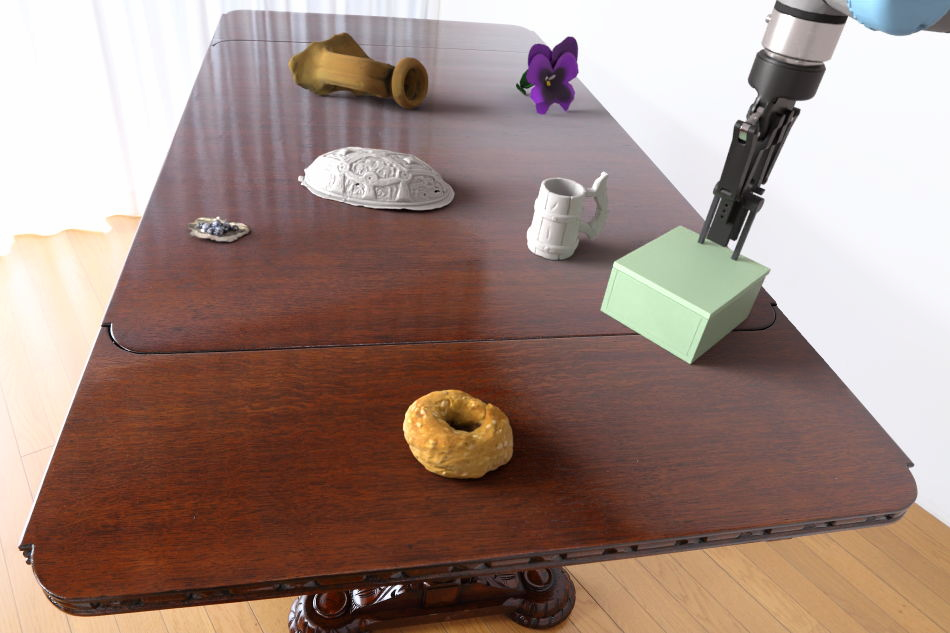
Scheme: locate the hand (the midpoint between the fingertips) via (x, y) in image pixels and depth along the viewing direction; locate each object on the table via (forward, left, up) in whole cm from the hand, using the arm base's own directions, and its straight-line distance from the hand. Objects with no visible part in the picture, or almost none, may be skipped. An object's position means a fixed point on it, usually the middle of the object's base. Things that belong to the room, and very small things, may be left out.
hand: (721, 238), depth 89 cm
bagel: (+2, +46, -10) cm, 47 cm away
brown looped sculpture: (+83, -5, -10) cm, 84 cm away
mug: (+20, +6, -10) cm, 23 cm away
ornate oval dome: (+50, +17, -10) cm, 54 cm away
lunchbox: (0, +7, -9) cm, 12 cm away
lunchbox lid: (0, +6, -3) cm, 7 cm away
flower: (+63, -39, -10) cm, 75 cm away
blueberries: (+51, +44, -10) cm, 68 cm away
